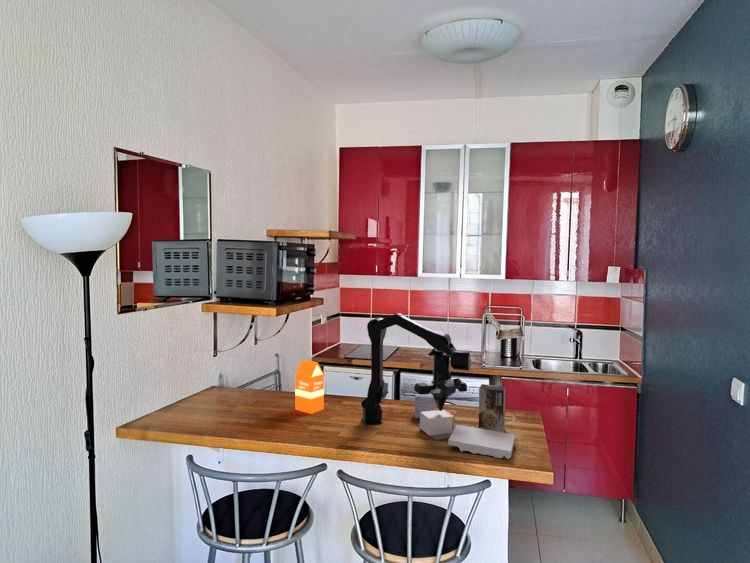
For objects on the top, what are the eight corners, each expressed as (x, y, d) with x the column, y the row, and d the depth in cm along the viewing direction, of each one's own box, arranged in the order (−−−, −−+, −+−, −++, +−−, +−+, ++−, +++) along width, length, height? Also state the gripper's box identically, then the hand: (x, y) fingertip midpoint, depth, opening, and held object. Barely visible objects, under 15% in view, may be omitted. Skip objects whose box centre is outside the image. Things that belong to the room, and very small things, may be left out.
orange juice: (308, 405, 215) (308, 358, 214) (323, 409, 210) (324, 361, 208) (294, 409, 208) (295, 361, 207) (310, 413, 203) (311, 364, 202)
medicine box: (434, 415, 204) (435, 394, 203) (434, 419, 200) (435, 397, 199) (414, 414, 205) (415, 393, 204) (414, 418, 200) (415, 396, 200)
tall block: (429, 418, 181) (454, 416, 184) (420, 411, 188) (444, 409, 191) (428, 435, 181) (454, 432, 184) (419, 427, 189) (444, 425, 192)
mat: (435, 440, 177) (435, 439, 177) (417, 424, 193) (417, 424, 193) (471, 436, 182) (471, 435, 182) (450, 421, 197) (450, 421, 197)
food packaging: (514, 444, 176) (456, 433, 182) (514, 434, 175) (457, 424, 182) (510, 461, 161) (447, 449, 168) (510, 451, 161) (448, 440, 168)
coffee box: (504, 428, 190) (506, 385, 189) (503, 434, 184) (504, 390, 183) (479, 425, 193) (481, 383, 192) (477, 431, 187) (478, 387, 186)
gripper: (426, 374, 175) (425, 419, 176) (475, 371, 181) (473, 415, 181) (414, 367, 185) (413, 410, 186) (460, 365, 191) (459, 406, 192)
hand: (440, 410), depth 186 cm, fingers closed
